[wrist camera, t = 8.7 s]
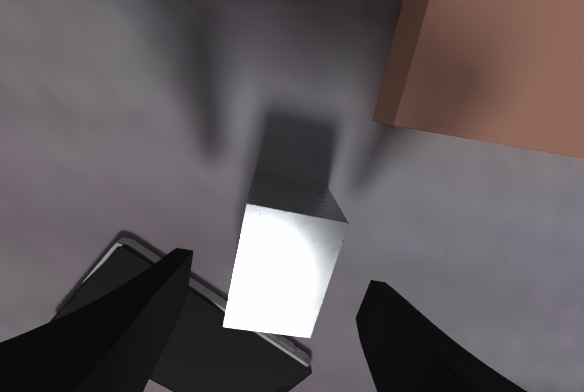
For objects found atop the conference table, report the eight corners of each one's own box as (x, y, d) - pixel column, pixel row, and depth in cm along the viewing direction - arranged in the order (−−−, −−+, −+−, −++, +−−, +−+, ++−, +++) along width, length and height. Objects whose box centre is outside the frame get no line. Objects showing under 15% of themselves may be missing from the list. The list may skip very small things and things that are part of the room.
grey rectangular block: (327, 186, 15) (348, 223, 10) (301, 276, 17) (310, 338, 12) (255, 171, 14) (246, 203, 10) (236, 266, 16) (223, 326, 12)
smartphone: (119, 237, 14) (317, 369, 18) (131, 227, 15) (315, 353, 19) (45, 327, 16) (240, 429, 20) (60, 311, 17) (242, 411, 21)
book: (693, -4, 13) (811, -33, 10) (601, 159, 15) (674, 174, 13) (419, -77, 11) (467, -135, 8) (369, 119, 14) (393, 125, 11)
